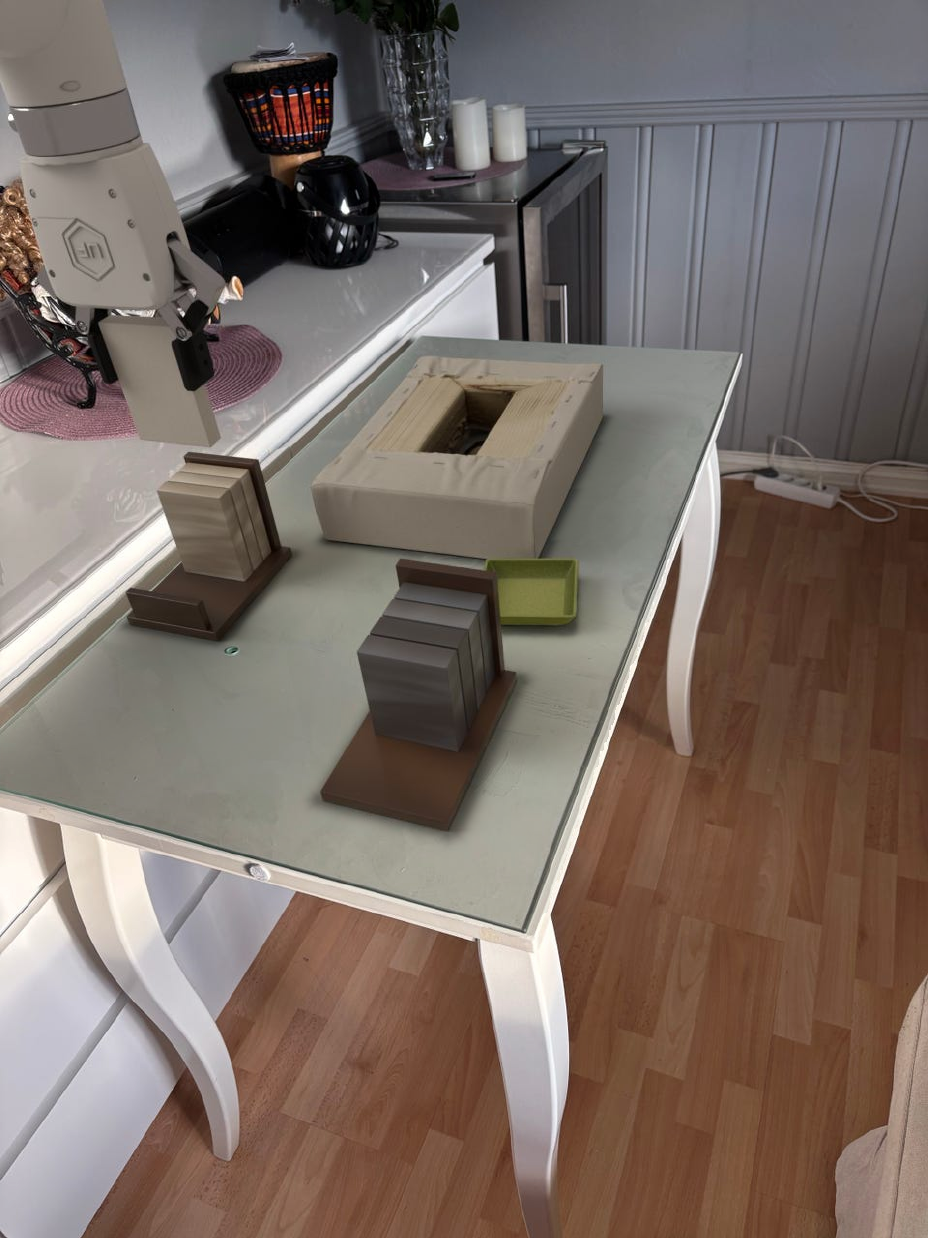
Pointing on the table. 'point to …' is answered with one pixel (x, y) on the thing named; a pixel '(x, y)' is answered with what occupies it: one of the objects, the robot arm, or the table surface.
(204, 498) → the dark brown rack
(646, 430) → the table surface
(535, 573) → the green tray
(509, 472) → the box
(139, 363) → the cream book
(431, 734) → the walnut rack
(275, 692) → the table surface
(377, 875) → the table surface
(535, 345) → the table surface
